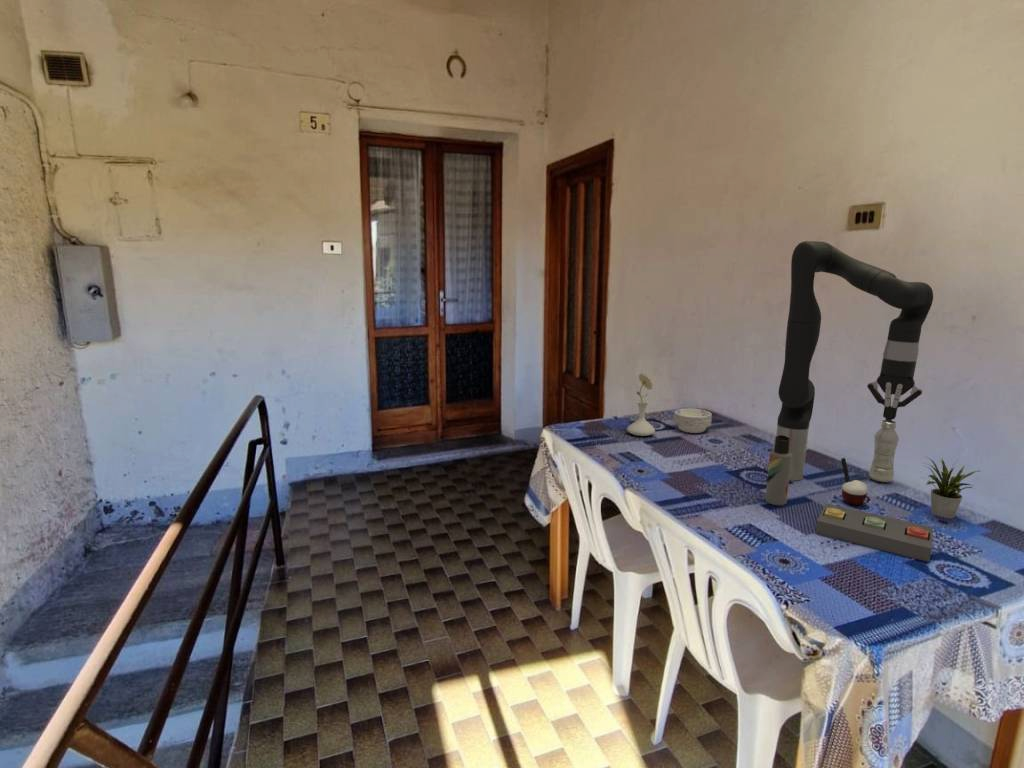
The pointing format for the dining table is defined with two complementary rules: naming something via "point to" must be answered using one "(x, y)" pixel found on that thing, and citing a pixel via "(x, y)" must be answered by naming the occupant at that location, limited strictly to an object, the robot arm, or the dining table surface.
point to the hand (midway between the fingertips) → (888, 419)
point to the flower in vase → (642, 413)
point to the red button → (917, 532)
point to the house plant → (946, 491)
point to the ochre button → (835, 513)
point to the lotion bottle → (779, 472)
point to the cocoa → (853, 489)
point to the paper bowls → (692, 420)
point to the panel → (876, 533)
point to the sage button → (874, 522)
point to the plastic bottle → (884, 452)
